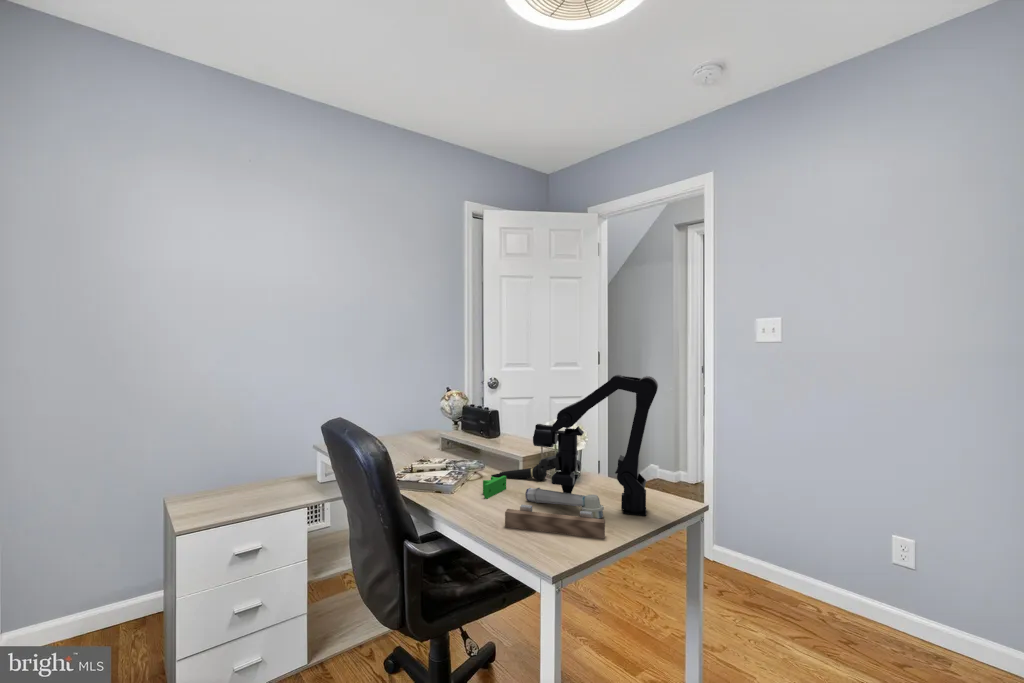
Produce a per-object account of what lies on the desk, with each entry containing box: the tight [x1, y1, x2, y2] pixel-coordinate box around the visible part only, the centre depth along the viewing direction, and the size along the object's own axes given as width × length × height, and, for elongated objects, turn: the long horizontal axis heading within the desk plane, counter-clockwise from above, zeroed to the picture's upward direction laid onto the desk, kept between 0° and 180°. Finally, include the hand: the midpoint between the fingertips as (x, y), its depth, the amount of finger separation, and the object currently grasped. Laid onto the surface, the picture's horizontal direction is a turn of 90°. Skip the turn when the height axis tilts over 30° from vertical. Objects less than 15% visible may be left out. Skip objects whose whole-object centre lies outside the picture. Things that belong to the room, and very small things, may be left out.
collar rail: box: [504, 504, 606, 540], centre depth 127 cm, size 26×4×5 cm, turn 75°
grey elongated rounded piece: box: [524, 487, 605, 519], centre depth 142 cm, size 5×7×25 cm
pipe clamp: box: [482, 476, 507, 500], centre depth 156 cm, size 11×4×5 cm, turn 149°
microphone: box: [490, 463, 548, 482], centre depth 172 cm, size 6×6×20 cm
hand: (566, 499), depth 147 cm, fingers closed
